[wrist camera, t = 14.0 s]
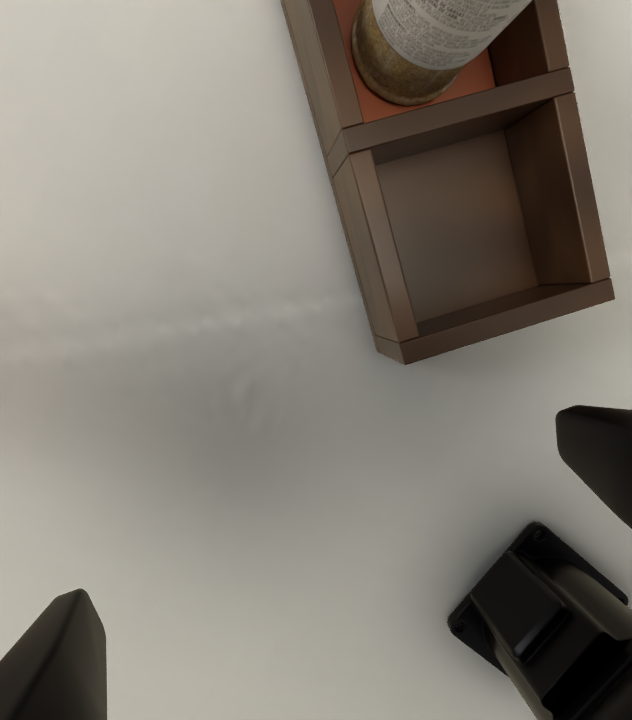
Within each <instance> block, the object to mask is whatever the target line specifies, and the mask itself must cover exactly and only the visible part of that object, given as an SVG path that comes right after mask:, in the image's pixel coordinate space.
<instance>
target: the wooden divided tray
mask: <svg viewBox="0 0 632 720" xmlns="http://www.w3.org/2000/svg"><path fill="white" fill-rule="evenodd" d="M361 2H362V0H281V4H282V7H283V11H284V14H285V18H286V22H287V25H288V29H289V33H290V36H291V40H292V44H293V47H294V51H295V54H296V58H297V62H298V65H299V69H300V73H301V76H302V80H303V84H304V87H305V91H306V94H307V98H308V102H309V105H310V109H311V113H312V116H313V120H314V124H315V127H316V131H317V134H318V138H319V142H320V145H321V149H322V153H323V156H324V160H325V164H326V167H327V171H328V174H329V178H330V182H331V185H332V189H333V193H334V196H335V200H336V204H337V207H338V211H339V214H340V218H341V222H342V225H343V229H344V233H345V236H346V240H347V244H348V247H349V251H350V254H351V258H352V262H353V265H354V269H355V273H356V276H357V280H358V284H359V287H360V291H361V295H362V298H363V302H364V305H365V309H366V313H367V316H368V320H369V324H370V327H371V331H372V335H373V338H374V342H375V345H376V349H377V352H379V353H381V354H383V355H385V356H387V357H389V358H392V359H394V360H396V361H398V362H400V363H402V364H404V365H407V364H410V363H413V362H417V361H420V360H423V359H426V358H429V357H433V356H436V355H439V354H442V353H445V352H448V351H452V350H455V349H458V348H461V347H464V346H468V345H471V344H474V343H477V342H480V341H483V340H487V339H490V338H493V337H496V336H499V335H503V334H506V333H509V332H512V331H515V330H518V329H522V328H525V327H528V326H531V325H534V324H538V323H541V322H544V321H547V320H550V319H554V318H557V317H560V316H563V315H566V314H569V313H573V312H576V311H579V310H582V309H585V308H589V307H592V306H595V305H598V304H601V303H604V302H608V301H611V300H614V299H615V296H614V291H613V286H612V281H611V278H609V277H610V272H609V267H608V262H607V256H606V251H605V246H604V241H603V236H602V231H601V226H600V220H599V215H598V210H597V205H596V200H595V195H594V190H593V184H592V179H591V174H590V169H589V164H588V159H587V154H586V148H585V143H584V138H583V133H582V128H581V123H580V118H579V112H578V107H577V102H576V97H575V93H574V92H573V91H574V85H573V80H572V75H571V70H570V67H569V61H568V56H567V51H566V45H565V40H564V35H563V30H562V25H561V20H560V15H559V9H558V4H557V0H532V1H531V2H530V3H529V4H528V5H527V6H526V7H525V8H524V9H523V10H522V11H521V12H520V13H519V14H518V15H517V16H516V17H515V18H514V20H513V21H512V22H511V23H510V24H509V25H508V26H507V27H506V28H505V29H504V30H503V31H502V32H501V33H500V34H499V35H498V36H497V37H496V38H495V39H494V40H493V41H492V42H491V43H490V44H489V45H488V46H487V47H486V48H485V49H484V50H483V51H482V52H481V53H480V54H479V55H478V56H477V57H475V58H474V59H472V60H471V61H469V62H468V63H467V64H466V65H465V66H464V67H463V68H462V70H461V71H460V72H459V74H458V76H457V78H456V79H455V81H454V82H453V83H452V85H451V86H450V87H449V88H448V89H447V90H446V91H445V92H444V93H443V94H441V95H440V96H438V97H437V98H435V99H433V100H432V101H429V102H426V103H423V104H420V105H411V106H405V105H400V104H395V103H392V102H390V101H388V100H386V99H384V98H382V97H381V96H380V95H378V94H377V93H376V92H374V91H373V90H371V89H370V88H369V87H368V86H367V85H366V83H365V81H364V79H363V78H362V76H361V75H360V72H359V70H358V68H357V66H356V63H355V59H354V56H353V54H352V44H351V31H352V26H353V22H354V18H355V15H356V12H357V10H358V8H359V6H360V4H361ZM567 67H568V68H567Z"/></svg>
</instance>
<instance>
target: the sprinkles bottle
mask: <svg viewBox="0 0 632 720" xmlns="http://www.w3.org/2000/svg"><path fill="white" fill-rule="evenodd" d="M531 1H532V0H362V2H361V4H360V6H359V8H358V10H357V12H356V15H355V18H354V22H353V26H352V31H351V44H352V54H353V56H354V59H355V63H356V66H357V68H358V70H359V72H360V75H361V76H362V78H363V79H364V81H365V83H366V85H367V86H368V87H369V88H370V89H371V90H373V91H374V92H376V93H377V94H378V95H380V96H381V97H382V98H384V99H386V100H388V101H390V102H392V103H395V104H400V105H405V106H411V105H420V104H423V103H426V102H429V101H432V100H433V99H435V98H437V97H438V96H440V95H441V94H443V93H444V92H445V91H446V90H447V89H448V88H449V87H450V86H451V85H452V83H453V82H454V81H455V79H456V78H457V76H458V74H459V72H460V71H461V70H462V68H463V67H464V66H465V65H466V64H467V63H468V62H469V61H471V60H472V59H474V58H475V57H477V56H478V55H479V54H480V53H481V52H482V51H483V50H484V49H485V48H486V47H487V46H488V45H489V44H490V43H491V42H492V41H493V40H494V39H495V38H496V37H497V36H498V35H499V34H500V33H501V32H502V31H503V30H504V29H505V28H506V27H507V26H508V25H509V24H510V23H511V22H512V21H513V20H514V18H515V17H516V16H517V15H518V14H519V13H520V12H521V11H522V10H523V9H524V8H525V7H526V6H527V5H528V4H529V3H530V2H531Z"/></svg>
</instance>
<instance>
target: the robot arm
mask: <svg viewBox="0 0 632 720" xmlns="http://www.w3.org/2000/svg"><path fill="white" fill-rule="evenodd" d="M555 421H556V433H557V446H558V451H559V454H560V456H561V458H562V459H563V461H564V462H565V463H566V464H567V465H568V466H569V467H570V468H571V469H572V470H573V471H574V472H575V473H576V474H577V475H578V476H579V477H580V478H581V479H582V480H583V481H584V483H585V484H586V485H587V486H588V487H589V488H590V489H591V490H592V491H593V492H594V493H595V494H596V495H597V496H598V497H599V498H600V499H601V500H602V501H603V502H604V503H605V504H606V505H607V506H608V507H609V508H610V509H611V510H612V511H613V512H614V513H615V514H616V515H617V516H618V517H619V518H620V519H621V520H622V521H624V522H625V523H626V524H627V525H628V526H629V527H630V528H631V529H632V410H626V409H615V408H604V407H593V406H583V405H575V406H572V407H569V408H566V409H564V410H561V411H559V412H558V413H557V415H556V419H555ZM538 531H540V534H539V535H538V536H537V537H535V534H536V532H538ZM627 605H628V597H627V596H626V595H625V594H624V593H623V592H622V591H621V590H619V589H618V588H617V587H616V586H615V585H614V584H612V583H611V582H610V581H609V580H608V579H607V578H605V577H604V576H603V575H602V574H601V573H600V572H598V571H597V570H596V569H595V568H594V567H593V566H591V565H590V564H589V563H588V562H587V561H586V560H584V559H583V558H582V557H581V556H580V555H579V554H577V553H576V552H575V551H574V550H573V549H572V548H570V547H569V546H568V545H567V544H566V543H564V542H563V541H562V540H561V539H560V538H559V537H557V536H556V535H555V534H554V533H553V532H552V531H550V530H549V529H548V528H547V527H546V526H544V525H543V524H542V523H540V522H532V523H530V524H529V525H528V526H527V527H526V528H525V529H524V531H523V532H522V533H521V534H520V535H519V536H518V537H517V539H516V540H515V541H514V542H513V543H512V544H511V546H510V547H509V548H508V549H507V550H506V551H505V552H504V553H503V555H502V556H501V557H500V558H499V559H498V560H497V561H496V563H495V564H494V565H493V566H492V567H491V568H490V570H489V571H488V572H487V573H486V574H485V575H484V576H483V578H482V579H481V580H480V581H479V582H478V583H477V585H476V586H475V587H474V588H473V589H472V590H471V592H470V593H469V594H468V595H467V596H466V597H465V599H464V600H463V601H462V602H461V603H460V604H459V606H458V607H457V608H456V609H455V610H454V611H453V612H452V614H451V615H450V616H449V618H448V621H447V624H448V627H449V629H450V631H451V632H452V634H453V635H454V636H456V637H457V638H458V639H460V640H461V641H462V642H464V643H465V644H466V645H467V646H469V647H470V648H471V649H473V650H474V651H475V652H477V653H478V654H479V655H481V656H482V657H483V658H484V659H486V660H487V661H488V662H490V663H491V664H492V665H494V666H495V667H496V668H498V669H499V670H500V671H501V672H503V673H504V674H505V675H507V676H508V677H509V678H510V679H511V680H512V682H513V683H514V685H515V686H516V688H517V689H518V691H519V692H520V694H521V695H522V697H523V698H524V700H525V701H526V703H527V704H528V706H529V707H530V709H531V710H532V712H533V713H534V715H535V716H536V718H537V719H538V720H632V610H630V609H629V608H628V607H627ZM459 622H462V624H461V625H460V626H456V625H457V623H459ZM0 720H107V672H106V635H105V630H104V627H103V624H102V622H101V620H100V618H99V616H98V614H97V612H96V610H95V608H94V606H93V603H92V601H91V599H90V597H89V595H88V594H87V592H86V591H85V590H83V589H77V590H74V591H71V592H68V593H66V594H63V595H60V596H58V597H56V598H55V599H54V600H53V601H52V602H51V604H50V605H49V606H48V607H47V608H46V609H45V610H44V612H43V613H42V614H41V615H40V616H39V617H38V618H37V620H36V621H35V622H34V623H33V624H32V625H31V626H30V628H29V629H28V630H27V631H26V632H25V633H24V634H23V636H22V637H21V638H20V639H19V640H18V641H17V642H16V644H15V645H14V646H13V647H12V648H11V649H10V650H9V652H8V653H7V654H6V655H5V656H4V657H3V658H2V660H1V661H0Z"/></svg>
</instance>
